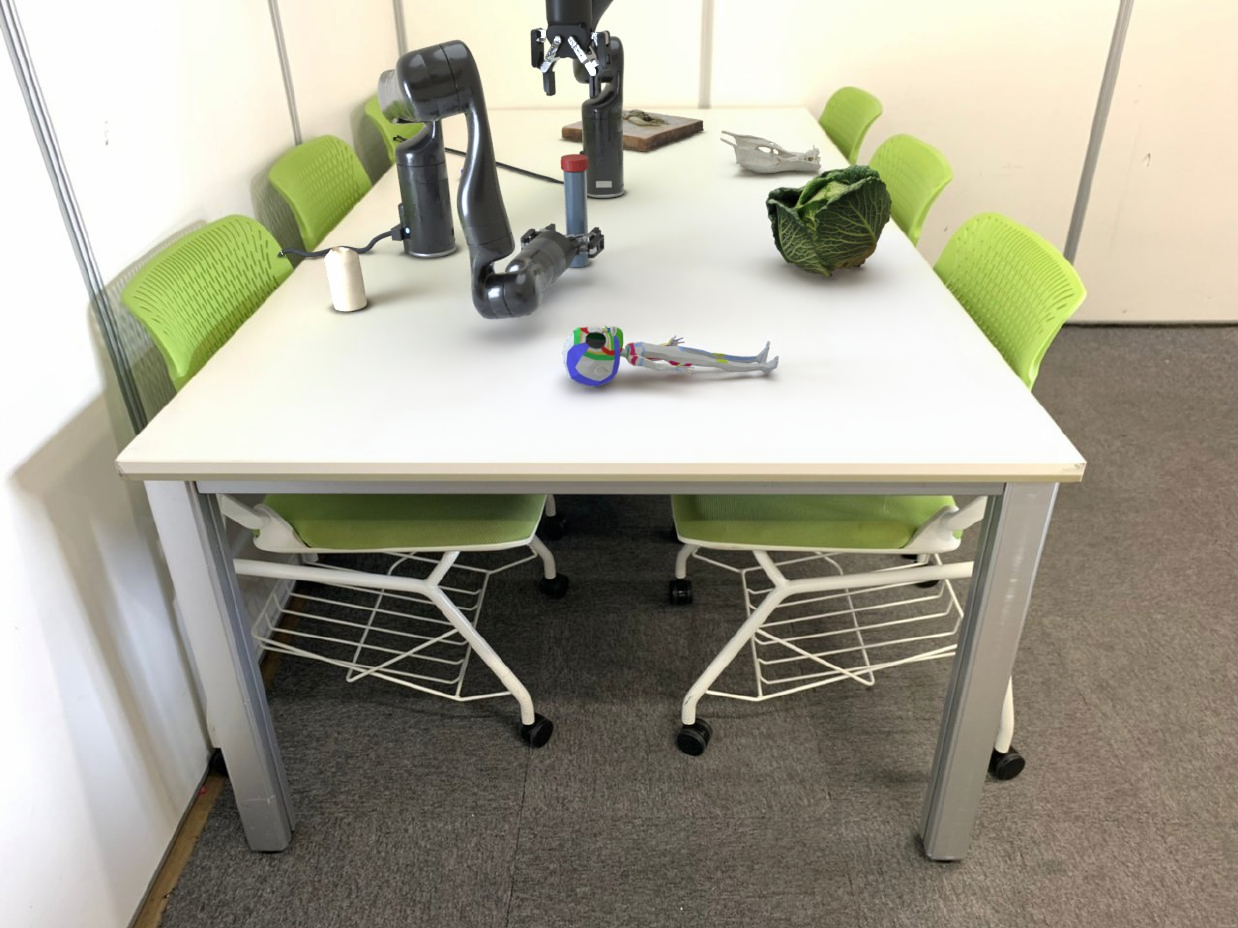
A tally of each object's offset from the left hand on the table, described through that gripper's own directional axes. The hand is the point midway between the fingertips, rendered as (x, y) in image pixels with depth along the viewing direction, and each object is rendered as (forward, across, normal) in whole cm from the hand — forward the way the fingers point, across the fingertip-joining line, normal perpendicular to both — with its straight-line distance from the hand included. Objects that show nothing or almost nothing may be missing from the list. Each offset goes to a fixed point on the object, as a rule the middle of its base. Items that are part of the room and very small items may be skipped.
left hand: (575, 230), depth 165 cm
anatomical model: (+76, -25, +7) cm, 80 cm away
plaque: (+106, +19, +7) cm, 108 cm away
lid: (+1, 0, -13) cm, 13 cm away
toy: (-41, -28, +6) cm, 50 cm away
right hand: (+1, 0, -23) cm, 23 cm away
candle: (-29, +31, +7) cm, 43 cm away
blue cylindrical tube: (+1, 0, +7) cm, 7 cm away
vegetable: (+9, -45, +7) cm, 46 cm away
